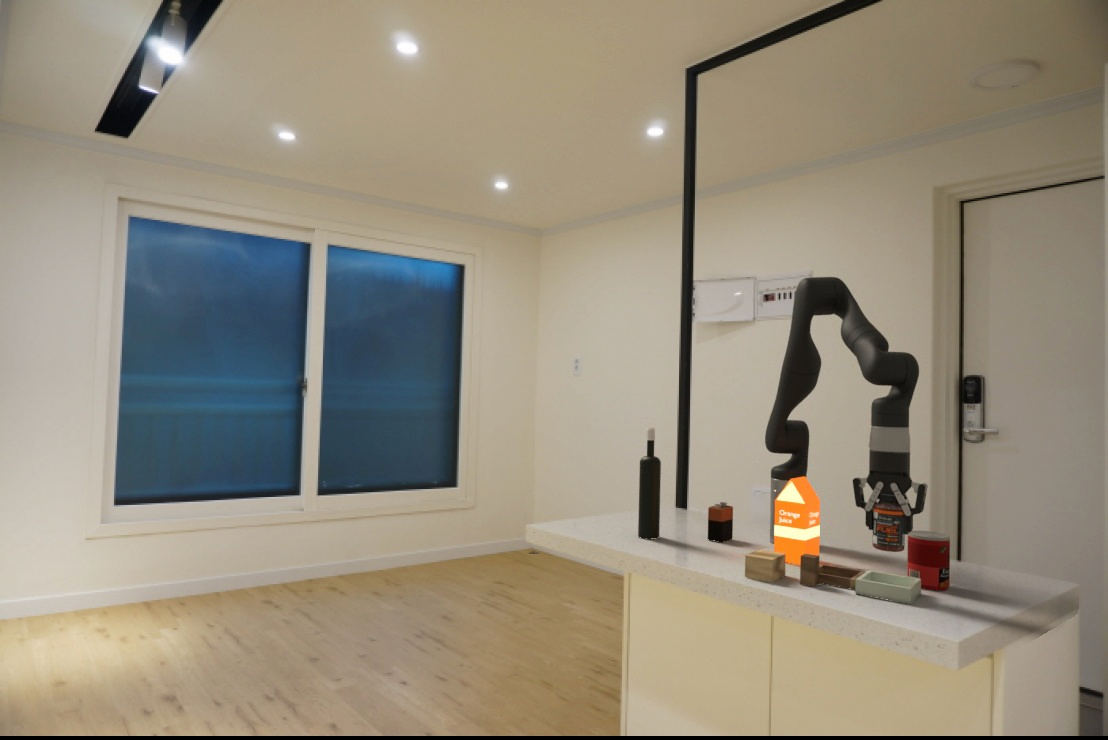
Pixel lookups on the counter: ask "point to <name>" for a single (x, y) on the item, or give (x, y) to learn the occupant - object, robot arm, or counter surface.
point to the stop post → (809, 569)
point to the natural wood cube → (765, 565)
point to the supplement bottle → (888, 524)
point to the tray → (888, 586)
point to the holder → (838, 576)
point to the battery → (720, 522)
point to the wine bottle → (649, 491)
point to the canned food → (929, 559)
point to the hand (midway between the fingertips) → (888, 531)
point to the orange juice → (797, 521)
